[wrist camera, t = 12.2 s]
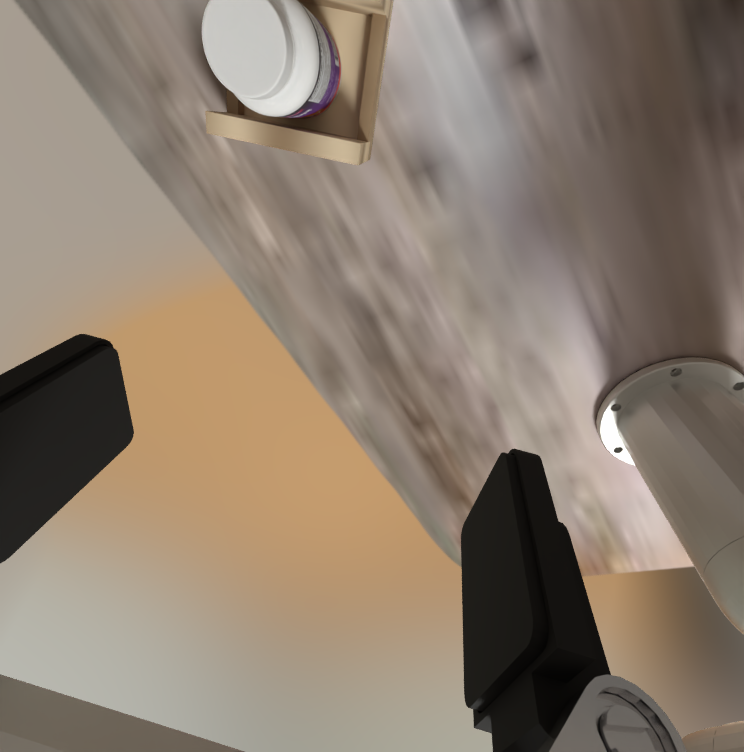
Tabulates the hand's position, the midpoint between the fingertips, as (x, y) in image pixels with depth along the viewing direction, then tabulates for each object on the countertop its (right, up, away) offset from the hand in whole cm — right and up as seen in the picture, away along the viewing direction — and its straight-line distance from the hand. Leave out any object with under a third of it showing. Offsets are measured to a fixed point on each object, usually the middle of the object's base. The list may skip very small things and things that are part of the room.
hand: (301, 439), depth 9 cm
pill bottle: (-3, +22, +16) cm, 27 cm away
